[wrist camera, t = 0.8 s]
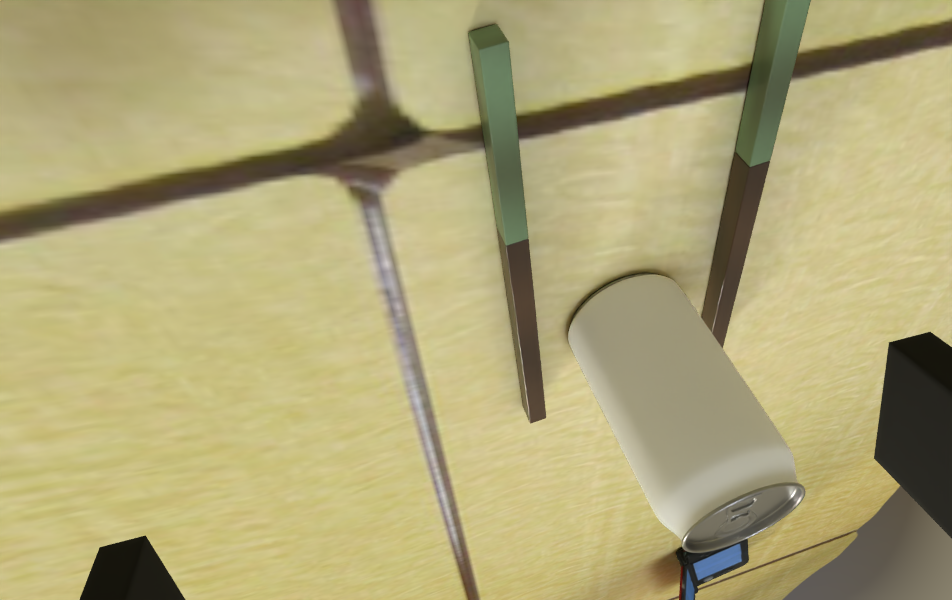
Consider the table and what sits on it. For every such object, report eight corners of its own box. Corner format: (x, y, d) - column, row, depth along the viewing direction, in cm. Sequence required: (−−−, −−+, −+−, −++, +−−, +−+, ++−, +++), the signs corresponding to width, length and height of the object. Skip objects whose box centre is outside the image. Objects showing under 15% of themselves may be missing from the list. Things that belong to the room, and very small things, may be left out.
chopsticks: (467, 31, 23) (478, 50, 22) (803, -66, 24) (824, -52, 23) (523, 406, 41) (530, 424, 41) (710, 342, 42) (720, 357, 42)
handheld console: (744, 553, 81) (781, 618, 76) (657, 591, 81) (689, 658, 77) (742, 519, 71) (785, 592, 66) (644, 563, 72) (679, 637, 67)
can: (569, 366, 40) (670, 572, 32) (559, 296, 35) (676, 521, 27) (675, 326, 40) (800, 520, 32) (681, 251, 35) (830, 460, 27)
